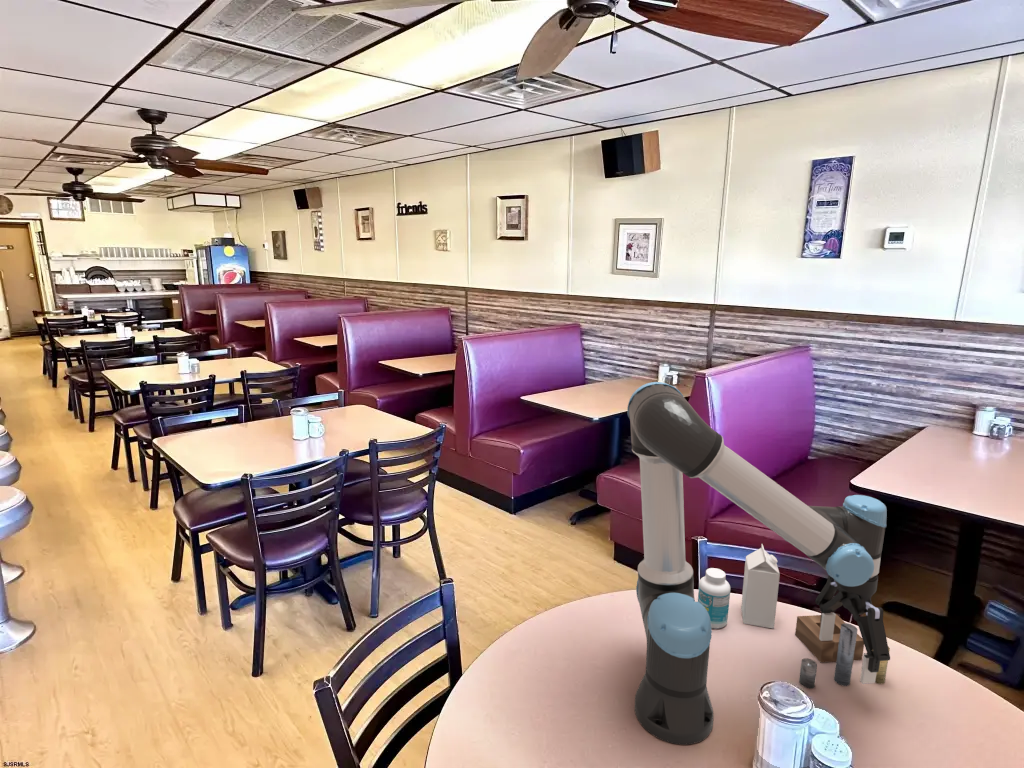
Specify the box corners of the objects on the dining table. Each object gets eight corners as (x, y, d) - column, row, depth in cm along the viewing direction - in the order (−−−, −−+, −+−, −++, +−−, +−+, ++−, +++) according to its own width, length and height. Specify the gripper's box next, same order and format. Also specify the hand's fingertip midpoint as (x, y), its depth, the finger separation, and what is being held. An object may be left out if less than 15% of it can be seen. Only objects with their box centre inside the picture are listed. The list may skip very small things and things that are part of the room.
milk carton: (743, 624, 142) (749, 554, 138) (740, 608, 149) (747, 541, 145) (774, 629, 140) (781, 559, 136) (770, 613, 147) (777, 545, 143)
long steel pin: (839, 686, 121) (847, 632, 118) (830, 676, 124) (838, 623, 121) (853, 685, 121) (860, 631, 119) (843, 675, 124) (851, 622, 122)
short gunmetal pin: (804, 688, 120) (806, 668, 119) (796, 678, 123) (798, 658, 122) (817, 688, 121) (820, 667, 120) (809, 678, 124) (811, 657, 123)
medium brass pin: (875, 684, 122) (879, 651, 120) (865, 674, 125) (870, 642, 123) (888, 683, 122) (893, 650, 120) (878, 673, 125) (882, 641, 123)
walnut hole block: (820, 662, 128) (822, 642, 127) (795, 634, 138) (797, 616, 137) (861, 660, 129) (864, 640, 128) (833, 632, 139) (836, 614, 138)
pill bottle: (691, 612, 147) (695, 565, 144) (719, 611, 147) (723, 564, 145) (703, 630, 140) (707, 581, 137) (732, 629, 140) (736, 580, 137)
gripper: (921, 603, 105) (906, 701, 110) (835, 540, 130) (825, 623, 134) (883, 605, 105) (869, 704, 109) (804, 542, 129) (795, 625, 133)
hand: (845, 660), depth 122 cm, fingers open, 13 cm apart
